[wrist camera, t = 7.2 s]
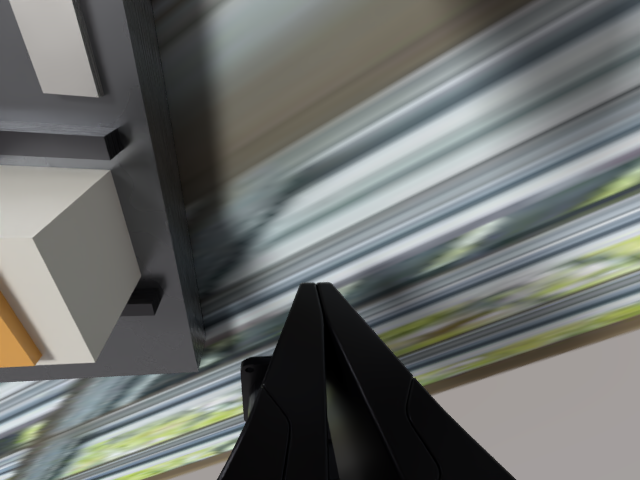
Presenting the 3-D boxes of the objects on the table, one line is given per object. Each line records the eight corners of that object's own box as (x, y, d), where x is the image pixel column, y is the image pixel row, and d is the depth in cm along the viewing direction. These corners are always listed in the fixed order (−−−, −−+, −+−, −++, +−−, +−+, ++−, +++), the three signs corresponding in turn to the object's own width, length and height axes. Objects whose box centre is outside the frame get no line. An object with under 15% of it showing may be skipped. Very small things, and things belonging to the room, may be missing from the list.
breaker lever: (141, 275, 11) (89, 372, 8) (46, 276, 11) (-48, 380, 7) (110, 170, 9) (21, 247, 6) (-12, 164, 8) (-181, 245, 5)
